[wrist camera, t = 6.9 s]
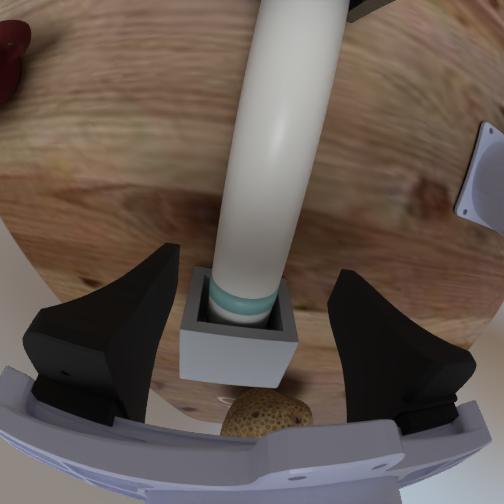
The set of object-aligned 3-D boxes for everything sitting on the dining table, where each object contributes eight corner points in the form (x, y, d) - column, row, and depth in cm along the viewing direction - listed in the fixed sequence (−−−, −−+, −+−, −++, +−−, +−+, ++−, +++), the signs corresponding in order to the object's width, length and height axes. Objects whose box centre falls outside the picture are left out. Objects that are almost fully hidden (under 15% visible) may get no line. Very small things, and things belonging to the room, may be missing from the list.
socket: (194, 265, 20) (180, 329, 15) (286, 278, 21) (298, 342, 15) (191, 316, 22) (179, 378, 17) (271, 326, 23) (277, 388, 18)
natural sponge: (305, 359, 26) (321, 453, 17) (307, 400, 30) (318, 474, 22) (213, 371, 26) (207, 463, 18) (233, 409, 31) (232, 482, 23)
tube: (271, -41, 9) (279, -75, 5) (343, -23, 9) (370, -48, 6) (208, 300, 20) (202, 343, 17) (263, 307, 21) (267, 350, 17)
